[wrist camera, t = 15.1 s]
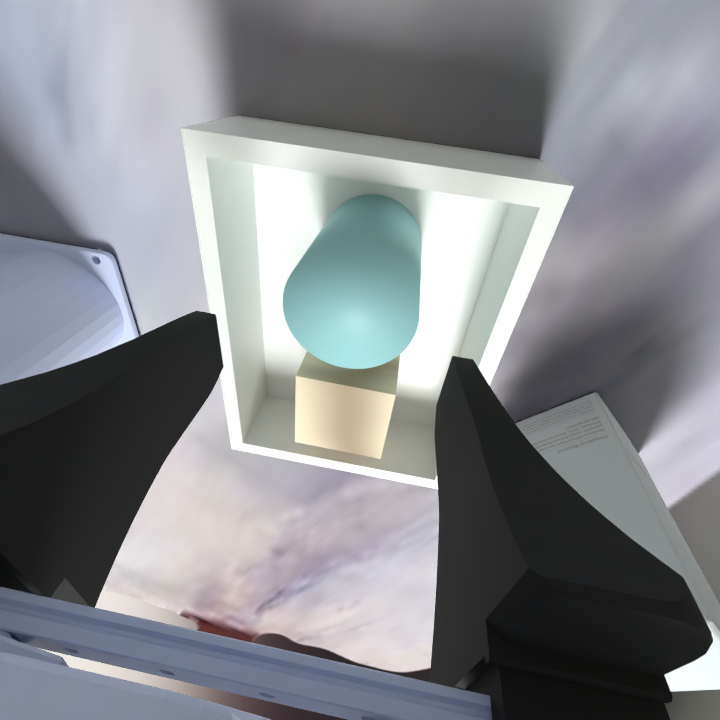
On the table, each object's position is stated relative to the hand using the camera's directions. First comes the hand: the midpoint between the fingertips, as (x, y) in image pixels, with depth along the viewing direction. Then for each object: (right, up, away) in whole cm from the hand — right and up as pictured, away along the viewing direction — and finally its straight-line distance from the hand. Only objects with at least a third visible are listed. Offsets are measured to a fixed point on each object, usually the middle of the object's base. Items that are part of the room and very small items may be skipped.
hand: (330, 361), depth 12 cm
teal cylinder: (+2, +6, +8) cm, 10 cm away
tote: (+1, +3, +11) cm, 11 cm away
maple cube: (+1, 0, +12) cm, 12 cm away
